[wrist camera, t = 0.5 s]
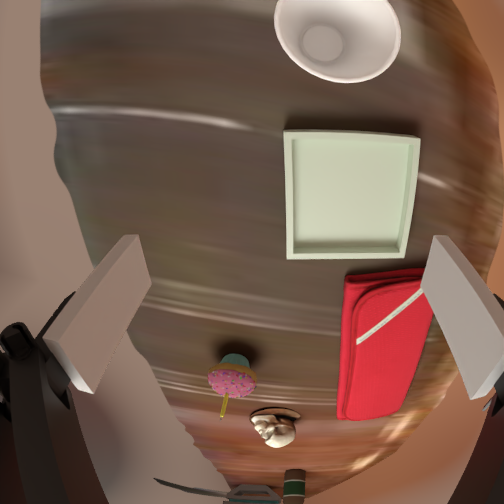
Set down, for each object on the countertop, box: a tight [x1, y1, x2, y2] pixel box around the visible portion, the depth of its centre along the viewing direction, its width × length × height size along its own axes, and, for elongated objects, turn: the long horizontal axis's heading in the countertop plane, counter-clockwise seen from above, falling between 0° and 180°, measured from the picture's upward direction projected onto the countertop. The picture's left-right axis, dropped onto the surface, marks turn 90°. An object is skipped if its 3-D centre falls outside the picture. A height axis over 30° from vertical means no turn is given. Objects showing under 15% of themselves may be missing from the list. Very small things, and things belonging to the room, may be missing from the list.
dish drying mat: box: [337, 268, 434, 421], centre depth 48 cm, size 16×41×4 cm, turn 10°
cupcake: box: [208, 354, 257, 421], centre depth 47 cm, size 9×8×12 cm
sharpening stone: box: [223, 485, 281, 504], centre depth 98 cm, size 25×8×11 cm, turn 103°
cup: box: [274, 0, 401, 83], centre depth 21 cm, size 10×10×11 cm
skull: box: [249, 409, 300, 448], centre depth 62 cm, size 12×10×10 cm
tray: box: [284, 129, 420, 259], centre depth 34 cm, size 16×16×2 cm
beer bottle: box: [283, 469, 305, 504], centre depth 75 cm, size 8×8×24 cm
